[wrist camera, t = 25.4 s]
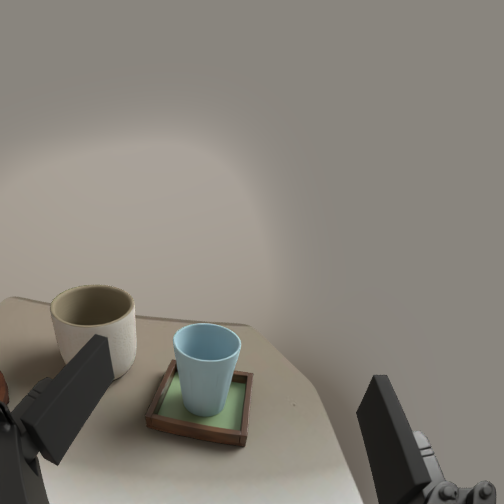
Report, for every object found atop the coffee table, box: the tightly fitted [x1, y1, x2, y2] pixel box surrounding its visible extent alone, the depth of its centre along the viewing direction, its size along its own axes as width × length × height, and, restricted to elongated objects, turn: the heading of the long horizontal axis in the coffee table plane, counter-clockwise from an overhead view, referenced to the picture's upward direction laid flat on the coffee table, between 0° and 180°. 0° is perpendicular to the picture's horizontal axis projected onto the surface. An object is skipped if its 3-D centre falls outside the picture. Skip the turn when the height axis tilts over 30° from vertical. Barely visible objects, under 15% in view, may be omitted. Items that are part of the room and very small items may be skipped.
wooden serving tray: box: [145, 359, 253, 446], centre depth 35 cm, size 12×12×2 cm
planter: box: [50, 285, 136, 380], centre depth 37 cm, size 12×12×11 cm
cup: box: [173, 323, 241, 417], centre depth 33 cm, size 8×8×10 cm
